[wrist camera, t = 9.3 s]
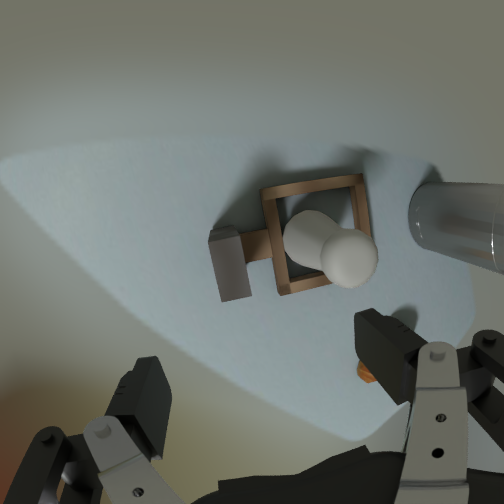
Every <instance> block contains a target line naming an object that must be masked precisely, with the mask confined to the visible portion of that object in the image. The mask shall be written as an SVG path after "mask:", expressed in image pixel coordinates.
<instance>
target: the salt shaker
mask: <svg viewBox="0 0 504 504" xmlns="http://www.w3.org/2000/svg"><path fill="white" fill-rule="evenodd" d="M283 243H284V249H285V251H286V253H287V254H288V255H289V257H290V258H291V259H292V261H294V262H296V263H298V264H300V265H302V266H305V267H309V268H313V269H317V270H321V271H323V272H324V273H325V275H326V276H327V278H328V279H329V280H330V281H331V282H333V283H335V284H336V285H338V286H340V287H343V288H357V287H359V286H361V285H363V284H365V283H366V282H368V280H369V279H370V278H371V276H372V275H373V274H374V273H375V270H376V267H377V263H378V250H377V247H376V245H375V243H374V241H373V239H372V238H371V237H370V236H368V235H367V234H365V233H363V232H362V231H360V230H358V229H343V228H341V227H340V226H339V225H338V224H337V223H336V222H334V221H333V220H332V219H331V218H330V217H328V216H327V215H325V214H323V213H321V212H319V211H313V210H305V211H303V212H301V213H299V214H297V215H295V216H293V217H292V218H291V220H290V221H289V222H288V223H287V224H286V226H285V230H284V234H283Z"/></svg>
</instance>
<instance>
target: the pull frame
mask: <svg viewBox="0 0 504 504" xmlns="http://www.w3.org/2000/svg"><path fill="white" fill-rule="evenodd" d="M348 186H349V189H350V195H351V202H352V209H353V217H354V225H355V229H358V230H360V231H362V232H363V233H365V234H367V235H368V236H370V237H371V234H370V224H369V216H368V208H367V200H366V193H365V186H364V180H363V174H362V173H361V174H353V175H345V176H338V177H331V178H324V179H317V180H310V181H304V182H298V183H292V184H285V185H280V186H274V187H268V188H263V189H259V190H260V196H261V201H262V206H263V212H264V217H265V223H266V228H265V229H260V230H255V231H251V232H246V233H241V234H239V233H238V231H237V230H236V228H235V226H234V225H233V226H228V227H223V228H218V229H213V230H210V235H209V240H208V245H209V249H210V254H211V258H212V263H213V267H214V272H215V276H216V280H217V284H218V289H219V293H220V297H221V301H222V302H226V301H231V300H235V299H240V298H245V297H249V296H252V294H251V289H250V284H249V279H248V274H247V269H246V264H245V263H247V262H252V261H257V260H261V259H266V258H271V257H272V262H273V267H274V273H275V279H276V285H277V291H278V293H279V294H280V296H283V295H287V294H291V293H296V292H300V291H304V290H308V289H312V288H316V287H320V286H324V285H328V284H332V283H333V282H331V281H330V280H329V279H328V278H327V276H326V275H325V273H324V272H323V271H319V272H315V273H311V274H307V275H302V276H298V277H294V278H289V276H288V269H287V263H286V257H285V251H284V245H283V239H282V233H281V228H280V222H279V216H278V211H277V205H276V199H275V198H280V197H286V196H292V195H298V194H303V193H309V192H315V191H322V190H328V189H334V188H341V187H348Z"/></svg>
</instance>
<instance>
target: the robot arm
mask: <svg viewBox="0 0 504 504" xmlns="http://www.w3.org/2000/svg"><path fill="white" fill-rule="evenodd" d="M409 226H410V231H411V234H412V236H413V238H414V240H415V241H416V242H417V243H418V245H419V246H421V247H422V248H425V249H428V250H431V251H434V252H437V253H440V254H443V255H446V256H449V257H452V258H455V259H458V260H461V261H464V262H467V263H470V264H473V265H476V266H479V267H482V268H485V269H488V270H491V271H493V272H496V273H499V274H502V275H504V184H487V183H456V182H453V183H452V182H429V183H426V184H423V185H422V186H421V187H419V188H418V189H417V191H416V192H415V194H414V196H413V198H412V200H411V203H410V207H409ZM354 331H355V350H356V353H357V356H358V358H359V359H360V361H361V362H362V363H363V364H364V366H365V367H366V368H367V369H368V370H369V372H370V373H371V374H372V375H373V376H374V378H375V379H376V380H377V381H378V382H379V384H380V385H381V386H382V387H383V388H384V390H385V391H386V392H387V393H388V395H389V396H390V397H391V398H392V399H393V401H394V402H395V403H396V404H397V406H398V405H400V404H402V403H404V402H406V401H409V402H410V403H411V404H410V409H409V414H408V421H407V426H406V431H405V436H404V441H403V445H402V449H401V452H393V451H387V452H386V451H382V452H373V453H370V452H369V451H368V449H367V448H366V446H365V445H363V446H360V447H358V448H355V449H352V450H350V451H347V452H344V453H341V454H338V455H335V456H332V457H330V458H328V459H326V460H324V461H323V462H321V463H319V464H317V465H315V466H313V467H311V468H309V469H307V470H305V471H303V472H301V473H299V474H295V475H282V476H281V475H280V476H249V477H243V478H236V479H228V480H220V481H218V488H219V490H218V491H215V492H212V493H210V494H207V495H205V496H203V497H201V498H199V499H198V500H196V501H194V502H193V503H191V504H504V473H496V472H488V471H482V470H476V469H470V468H467V456H468V412H469V413H470V414H471V416H472V417H473V418H474V419H475V420H476V421H477V422H478V423H479V424H480V425H481V427H482V428H483V429H484V430H485V431H486V432H487V433H488V434H489V435H490V437H491V438H492V439H493V440H494V441H495V442H496V443H497V445H498V446H499V447H500V448H501V449H502V450H503V451H504V395H503V394H502V393H501V392H500V391H499V390H498V389H496V388H495V387H494V386H493V383H494V380H495V377H497V378H498V379H499V380H500V381H502V382H503V383H504V335H503V334H501V333H499V332H497V331H494V330H482V331H479V332H477V333H476V334H475V335H474V336H473V340H472V345H471V346H468V347H465V348H461V349H457V350H456V349H455V348H454V347H453V346H452V345H450V344H448V343H445V342H431V343H428V342H427V341H426V340H424V339H423V338H422V337H420V336H419V335H418V334H416V333H415V332H414V331H412V330H410V328H408V327H407V326H406V325H405V326H404V324H403V323H402V322H400V321H399V320H398V319H396V318H393V317H389V316H383V315H381V314H380V313H379V312H377V311H376V310H375V309H373V308H370V309H367V310H364V311H361V312H357V313H355V315H354ZM171 402H172V393H171V389H170V386H169V383H168V381H167V378H166V376H165V374H164V371H163V369H162V366H161V364H160V361H159V360H158V357H156V356H151V357H143V358H138V359H137V361H136V364H135V366H134V368H133V370H132V371H128V372H127V373H126V374H125V375H124V376H123V377H122V378H121V380H120V382H119V384H118V386H117V389H116V391H115V393H114V395H113V397H112V400H111V402H110V404H109V406H108V408H107V411H106V413H105V415H104V416H101V417H98V418H95V419H94V420H92V421H91V422H89V423H88V424H87V425H86V427H85V429H84V432H83V434H78V435H73V436H68V437H67V436H66V435H65V434H64V432H63V431H62V430H61V429H60V428H59V427H55V426H50V427H46V428H44V429H42V430H40V431H39V432H38V433H37V434H36V435H35V437H34V438H33V440H32V442H31V444H30V446H29V448H28V450H27V452H26V454H25V456H24V458H23V460H22V462H21V464H20V466H19V469H18V471H17V473H16V475H15V477H14V479H13V482H12V484H11V486H10V488H9V491H8V493H7V496H6V498H5V501H4V503H3V504H100V499H101V494H102V489H103V488H104V489H105V491H106V492H107V494H108V496H109V498H110V500H111V501H112V503H113V504H185V502H184V501H183V500H182V499H181V498H180V497H179V496H178V495H177V494H176V493H175V492H174V491H173V489H172V488H171V487H170V486H169V485H168V484H167V483H166V482H165V481H164V479H163V478H162V477H161V476H160V475H159V473H158V472H157V471H156V470H155V468H154V467H153V466H152V465H151V464H150V462H151V460H161V459H162V456H163V449H164V444H165V438H166V431H167V425H168V419H169V413H170V407H171ZM61 478H62V479H63V480H64V481H65V486H64V489H63V492H62V495H61V499H60V502H59V501H58V500H57V496H56V491H57V488H58V485H59V482H60V479H61Z"/></svg>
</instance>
